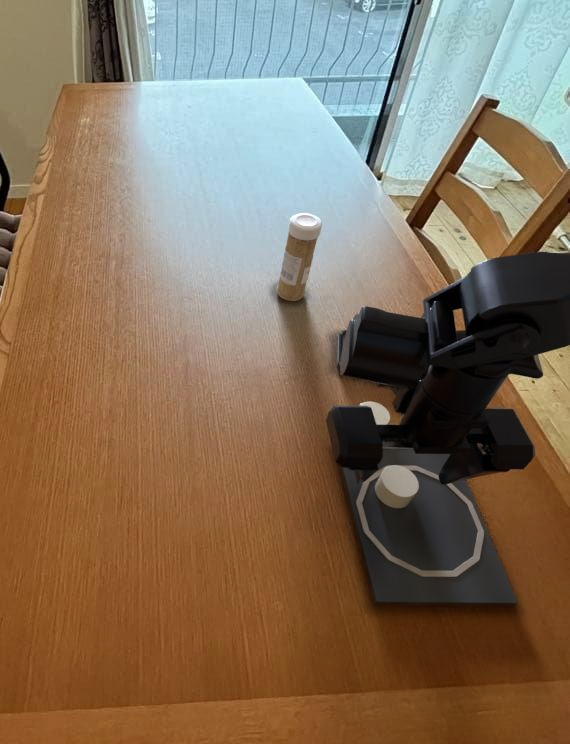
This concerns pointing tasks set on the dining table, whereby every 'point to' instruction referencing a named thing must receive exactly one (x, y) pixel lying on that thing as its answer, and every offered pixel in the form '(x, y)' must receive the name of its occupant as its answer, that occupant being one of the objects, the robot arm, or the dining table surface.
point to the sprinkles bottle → (298, 255)
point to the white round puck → (396, 486)
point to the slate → (426, 540)
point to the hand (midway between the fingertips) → (399, 480)
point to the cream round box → (378, 413)
